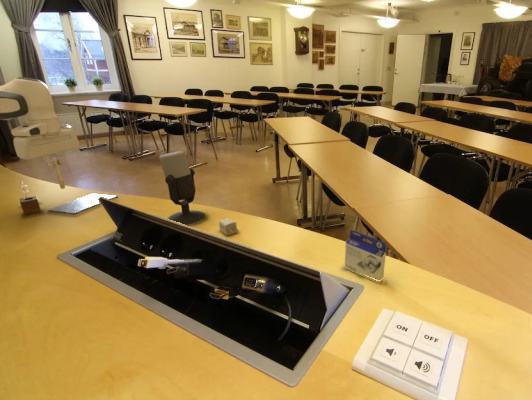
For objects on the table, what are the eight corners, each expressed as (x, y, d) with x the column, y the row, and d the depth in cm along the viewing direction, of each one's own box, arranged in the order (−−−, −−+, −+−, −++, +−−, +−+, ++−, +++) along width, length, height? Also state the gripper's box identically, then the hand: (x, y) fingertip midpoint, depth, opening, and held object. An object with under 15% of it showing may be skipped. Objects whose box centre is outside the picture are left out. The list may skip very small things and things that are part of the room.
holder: (24, 213, 121) (19, 198, 118) (41, 210, 124) (36, 195, 121) (25, 217, 117) (19, 202, 115) (42, 214, 120) (37, 199, 118)
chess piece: (22, 208, 125) (13, 184, 121) (22, 204, 128) (13, 181, 125) (38, 205, 128) (30, 181, 124) (38, 201, 131) (30, 178, 128)
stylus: (59, 189, 119) (50, 157, 115) (63, 188, 121) (53, 156, 116) (63, 189, 119) (53, 158, 115) (66, 188, 120) (57, 157, 116)
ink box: (343, 268, 89) (345, 231, 85) (348, 265, 91) (350, 228, 87) (379, 285, 82) (383, 246, 78) (384, 281, 84) (388, 242, 80)
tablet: (47, 212, 122) (46, 210, 121) (92, 195, 140) (92, 193, 139) (75, 216, 119) (75, 213, 119) (117, 197, 137) (117, 195, 137)
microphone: (184, 209, 126) (175, 147, 117) (212, 214, 122) (205, 149, 113) (159, 223, 115) (147, 154, 106) (189, 228, 111) (179, 158, 102)
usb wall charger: (230, 228, 112) (229, 217, 110) (241, 234, 107) (240, 224, 106) (220, 231, 109) (218, 220, 108) (230, 238, 105) (229, 227, 103)
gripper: (64, 122, 122) (74, 158, 127) (5, 131, 103) (19, 172, 108) (78, 123, 120) (88, 159, 125) (20, 132, 102) (34, 173, 107)
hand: (55, 165), depth 117 cm, fingers closed on stylus, 1 cm apart
